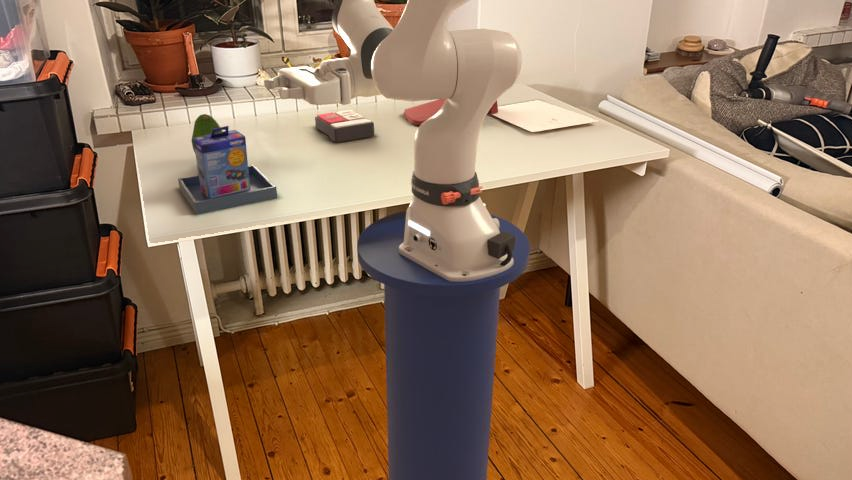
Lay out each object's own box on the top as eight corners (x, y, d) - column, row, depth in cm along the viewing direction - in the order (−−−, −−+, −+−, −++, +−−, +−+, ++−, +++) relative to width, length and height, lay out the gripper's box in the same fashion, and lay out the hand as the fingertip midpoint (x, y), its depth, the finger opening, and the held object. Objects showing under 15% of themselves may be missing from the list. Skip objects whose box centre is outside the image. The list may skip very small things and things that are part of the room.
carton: (418, 139, 190) (501, 114, 195) (416, 122, 188) (499, 97, 192) (403, 126, 200) (482, 103, 205) (400, 110, 198) (480, 86, 202)
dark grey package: (351, 108, 192) (374, 119, 180) (352, 123, 194) (375, 136, 182) (314, 113, 188) (334, 125, 176) (315, 129, 190) (335, 142, 178)
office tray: (277, 197, 148) (276, 186, 147) (196, 214, 141) (194, 203, 140) (255, 175, 160) (254, 164, 158) (179, 189, 153) (177, 178, 152)
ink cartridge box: (209, 200, 146) (199, 133, 139) (199, 192, 150) (189, 126, 143) (252, 189, 151) (244, 124, 144) (242, 182, 155) (234, 117, 148)
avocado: (190, 168, 164) (182, 118, 158) (202, 157, 171) (195, 108, 165) (223, 169, 163) (216, 119, 157) (233, 158, 170) (227, 109, 164)
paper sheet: (522, 136, 179) (523, 132, 179) (476, 110, 204) (476, 106, 203) (603, 125, 185) (603, 121, 184) (548, 101, 210) (548, 97, 209)
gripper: (314, 57, 157) (254, 64, 152) (352, 75, 141) (287, 84, 135) (316, 85, 160) (258, 94, 155) (353, 106, 144) (290, 116, 138)
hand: (271, 89), depth 145 cm, fingers open, 8 cm apart
